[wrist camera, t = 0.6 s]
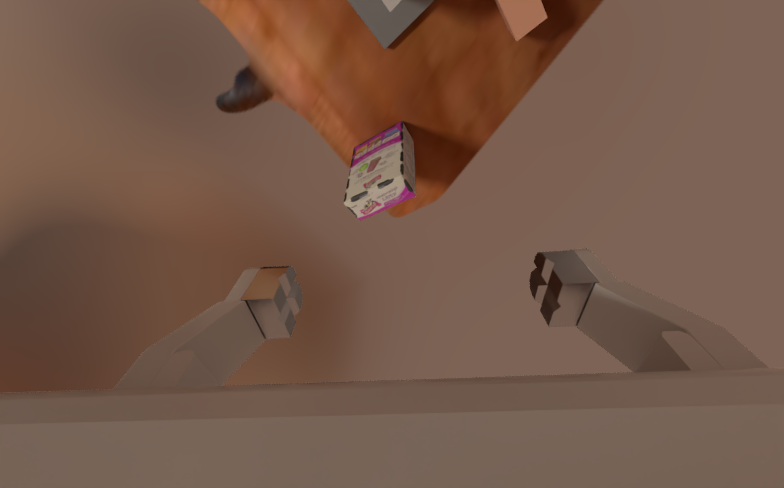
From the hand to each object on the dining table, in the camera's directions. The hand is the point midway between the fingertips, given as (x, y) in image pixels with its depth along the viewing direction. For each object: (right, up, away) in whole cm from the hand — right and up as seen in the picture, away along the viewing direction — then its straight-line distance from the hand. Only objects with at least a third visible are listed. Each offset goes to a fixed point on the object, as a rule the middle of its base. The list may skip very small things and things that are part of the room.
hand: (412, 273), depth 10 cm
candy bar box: (-2, +20, +47) cm, 51 cm away
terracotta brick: (+15, +35, +29) cm, 48 cm away
